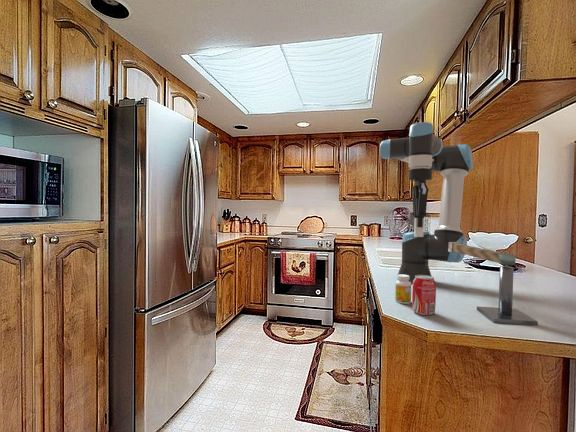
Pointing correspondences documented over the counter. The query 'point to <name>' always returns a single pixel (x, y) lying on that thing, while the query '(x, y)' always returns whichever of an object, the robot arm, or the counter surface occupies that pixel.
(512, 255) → the swing arm
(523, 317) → the post
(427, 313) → the soda can
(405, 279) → the supplement bottle
